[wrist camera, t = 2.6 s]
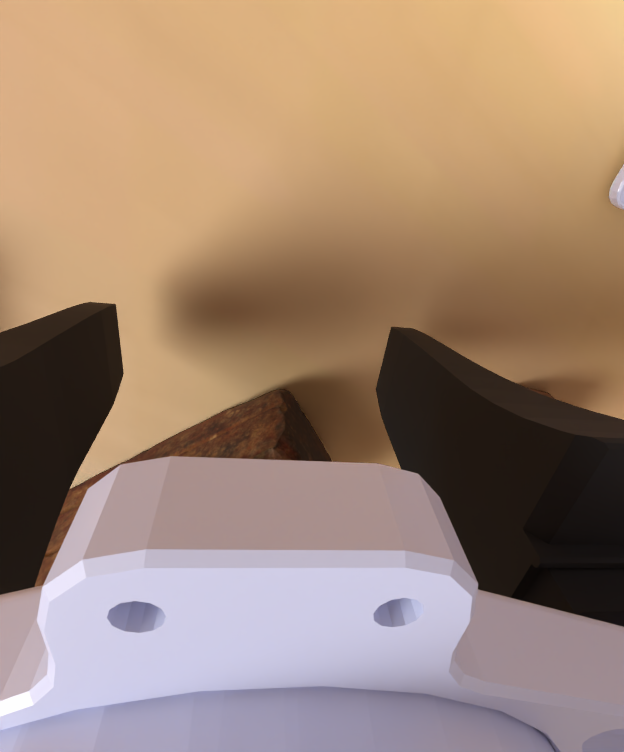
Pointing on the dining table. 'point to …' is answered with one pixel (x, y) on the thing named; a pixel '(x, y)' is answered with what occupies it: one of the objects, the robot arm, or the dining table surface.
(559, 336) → the dining table surface
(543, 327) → the dining table surface
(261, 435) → the brick
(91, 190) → the dining table surface
